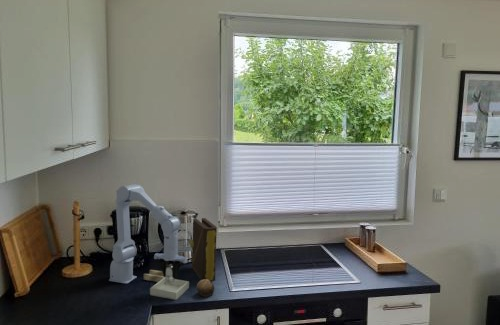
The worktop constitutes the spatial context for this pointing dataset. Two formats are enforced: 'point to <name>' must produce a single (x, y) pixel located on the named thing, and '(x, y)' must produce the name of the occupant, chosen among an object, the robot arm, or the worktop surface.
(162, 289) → the dish
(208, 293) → the mushroom
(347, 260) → the worktop surface
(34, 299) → the worktop surface
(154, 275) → the trough
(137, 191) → the robot arm
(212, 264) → the book
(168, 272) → the cylinder
